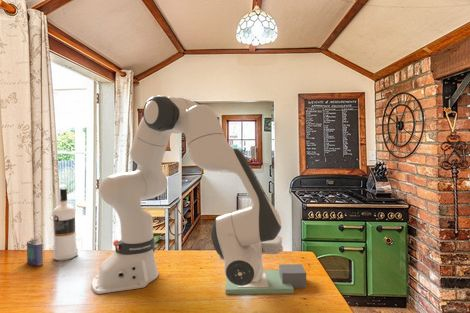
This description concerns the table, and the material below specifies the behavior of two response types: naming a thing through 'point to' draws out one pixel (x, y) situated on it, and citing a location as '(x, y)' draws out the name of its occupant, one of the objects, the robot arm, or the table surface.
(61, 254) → the vodka
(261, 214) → the robot arm
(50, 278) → the table surface
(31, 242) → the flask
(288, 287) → the green board with pad
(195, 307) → the table surface
